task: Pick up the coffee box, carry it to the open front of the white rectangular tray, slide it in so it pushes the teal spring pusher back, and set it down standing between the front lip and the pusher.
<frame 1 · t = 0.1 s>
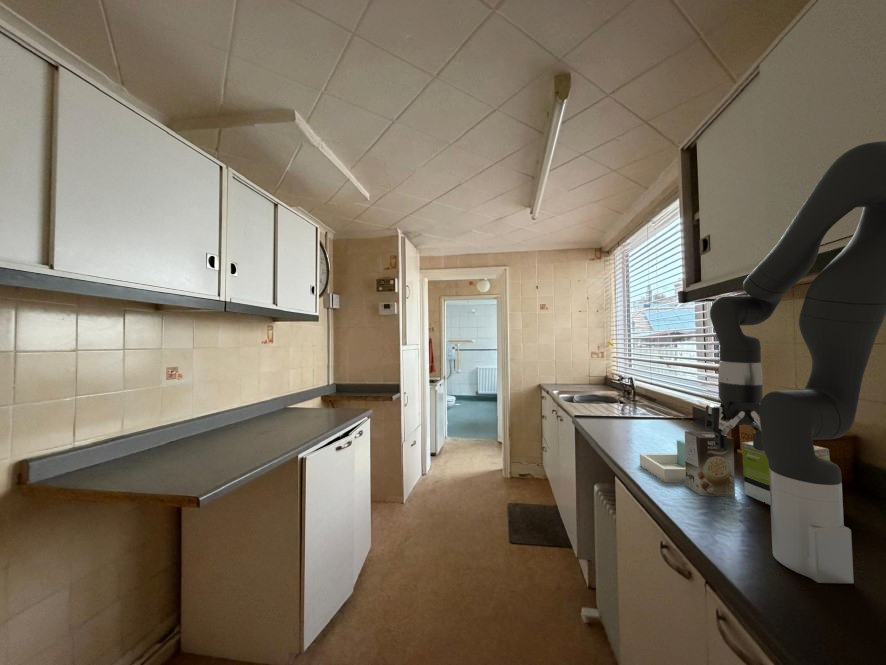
hand: (740, 449, 74), 17 cm above the countertop, tool pointing down, fingers open, 8 cm apart
white rectangular tray: (680, 473, 102), on the countertop
tea box: (787, 501, 85), on the countertop
coffee box: (709, 491, 90), on the countertop
pusher: (690, 457, 102), point 5 cm above the countertop, slide at 0.0 cm
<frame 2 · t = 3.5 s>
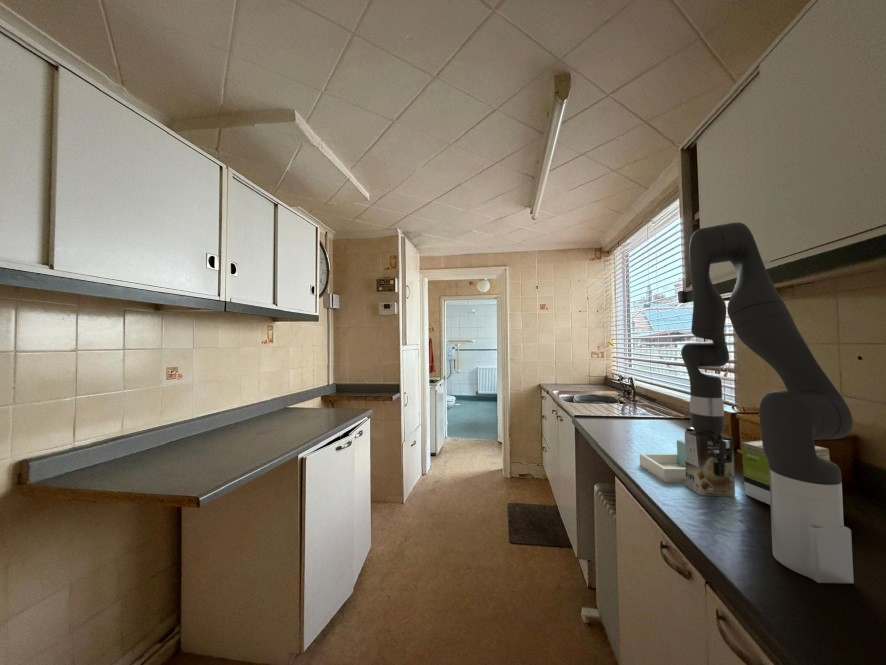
hand: (708, 470, 90), 6 cm above the countertop, tool pointing down, fingers closed on coffee box, 6 cm apart
coffee box: (709, 491, 90), on the countertop, touching gripper
everything else where it was.
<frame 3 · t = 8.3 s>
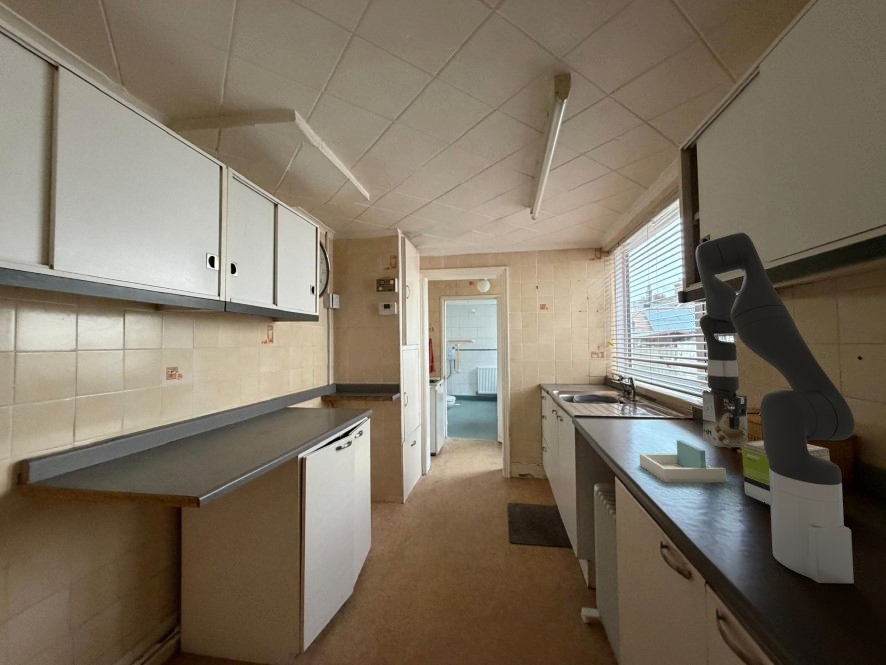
hand: (724, 425, 102), 15 cm above the countertop, tool pointing down, fingers closed on coffee box, 6 cm apart
coffee box: (725, 444, 102), point 9 cm above the countertop, touching gripper
everything else where it was.
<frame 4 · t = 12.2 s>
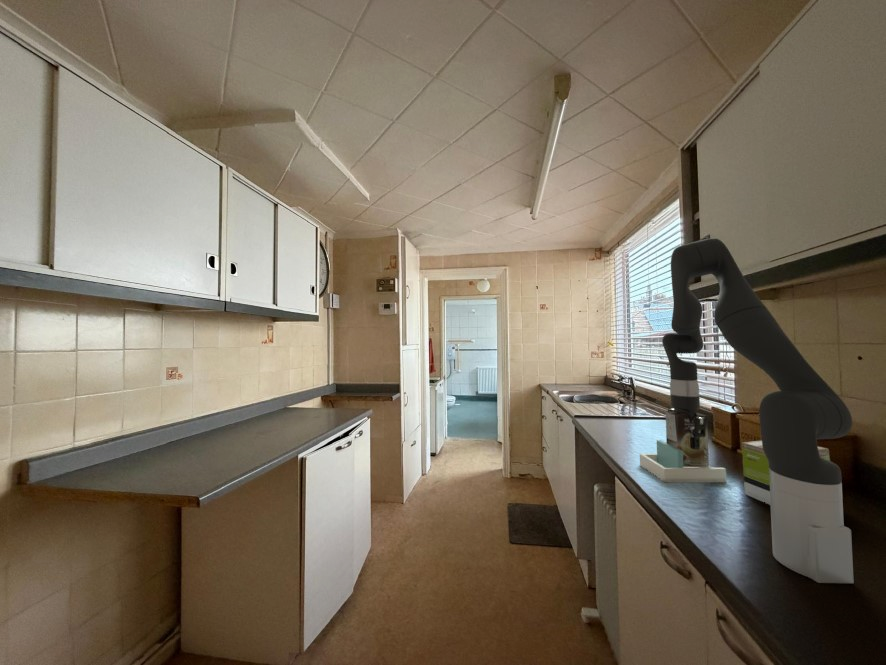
hand: (686, 445, 102), 9 cm above the countertop, tool pointing down, fingers closed on coffee box, 6 cm apart
coffee box: (687, 464, 102), point 3 cm above the countertop, touching gripper, pusher
pusher: (669, 457, 103), point 5 cm above the countertop, slide at 6.6 cm, touching coffee box
everything else where it was.
when the fingers open (8 cm above the countertop, at t = 13.5 s): coffee box stays where it is, resting on pusher.
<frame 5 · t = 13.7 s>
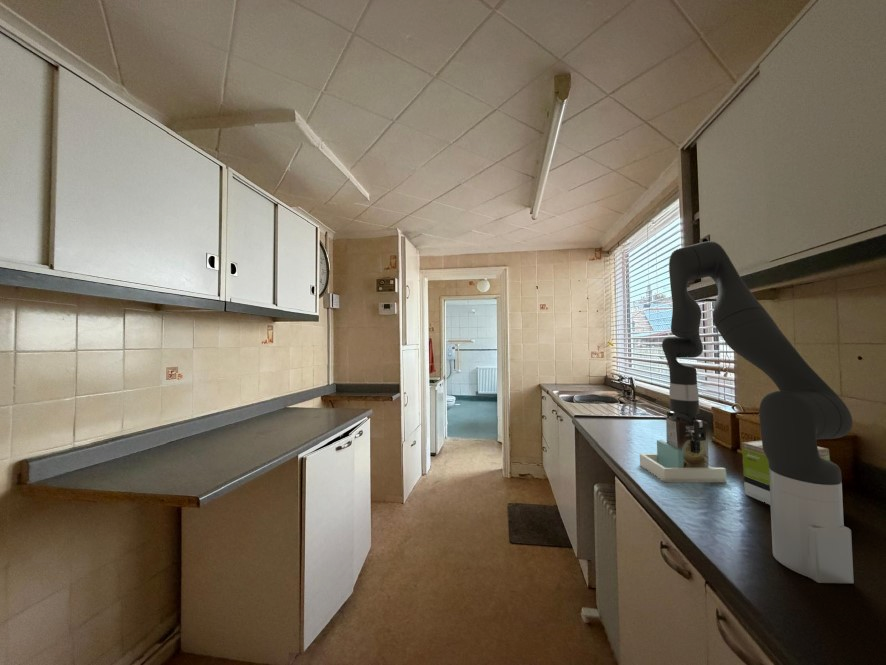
hand: (685, 448, 102), 8 cm above the countertop, tool pointing down, fingers open, 8 cm apart
coffee box: (687, 470, 102), point 1 cm above the countertop, touching pusher
everything else where it was.
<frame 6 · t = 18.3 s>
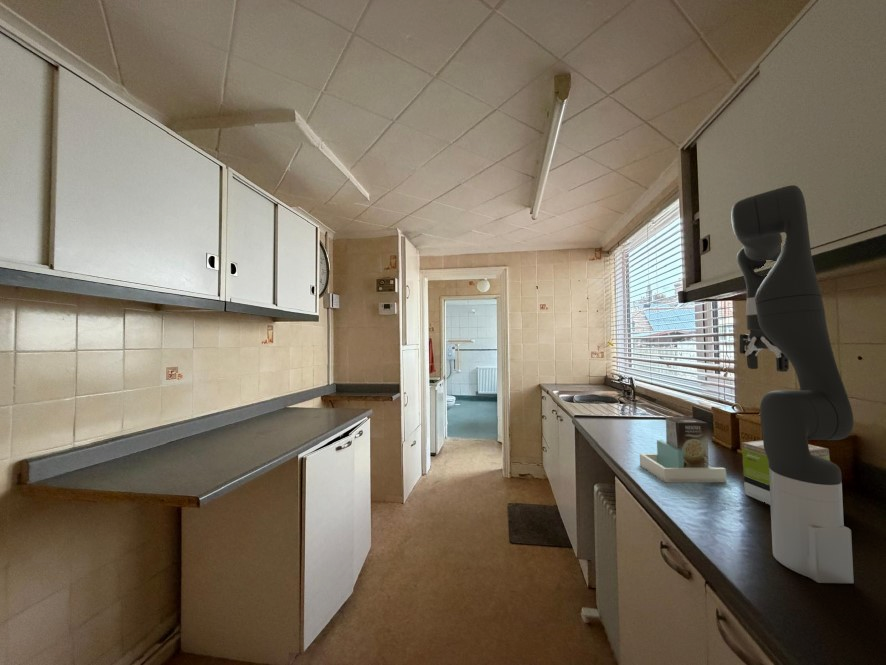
hand: (766, 370, 90), 34 cm above the countertop, tool pointing down, fingers open, 8 cm apart
coffee box: (687, 470, 102), point 1 cm above the countertop, touching white rectangular tray, pusher
everything else where it was.
at the end: coffee box 0.7 cm from the target spot on the white rectangular tray, point 0.8 cm above the white rectangular tray's base; pusher slide at 6.5 cm; coffee box tilted 0° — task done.
